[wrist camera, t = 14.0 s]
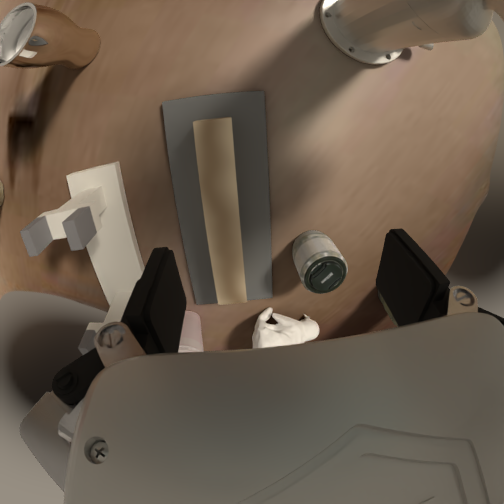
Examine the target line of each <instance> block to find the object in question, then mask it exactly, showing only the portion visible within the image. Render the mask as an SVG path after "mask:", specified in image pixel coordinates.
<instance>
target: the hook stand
mask: <svg viewBox="0 0 504 504" xmlns="http://www.w3.org/2000/svg"><path fill="white" fill-rule="evenodd" d="M66 177H67V182H68V186H69V190H70V194H71V198H72V199H71V200H69V201H68V202H67V203H65V204H64V205H63V206H61V207H60V208H59V209H56V210H52V211H48V212H44V213H42V214H41V215H40V216H38V217H37V218H36V219H35V220H33V221H32V222H31V223H30V224H29V225H27V226H26V227H25V228H24V229H23V230H21V231H20V233H21V236H22V238H23V241H24V244H25V246H26V249H27V251H28V254H29V256H37V255H39V254H40V253H41V252H42V251H43V250H44V249H45V248H46V247H47V246H48V245H49V244H50V243H51V242H52V241H53V240H55V239H61V238H67V240H68V242H69V245H70V248H71V251H74V250H82V249H84V248H85V246H86V247H87V250H88V253H89V256H90V259H91V261H92V264H93V267H94V269H95V272H96V274H97V277H98V279H99V282H100V284H101V287H102V289H103V291H104V294H105V296H106V298H107V301H108V303H109V305H110V308H109V311H108V313H107V315H106V317H105V320H104V322H103V323H91V322H90V323H89V324H88V327H87V329H86V331H85V333H84V335H83V338H82V340H81V342H80V344H79V346H78V349H79V350H80V352H81V353H82V355H84V354H86V353H87V352H89V351H90V350H92V349H93V348H95V344H94V338H95V335H96V333H97V331H98V330H99V329H100V328H101V327H103V326H104V325H106V324H108V323H110V322H120V321H121V318H122V315H123V313H124V310H125V308H126V306H127V303H128V301H129V298H130V296H131V293H132V291H133V289H134V286H135V284H136V282H137V281H138V280H139V279H140V278H141V276H142V274H143V271H144V269H145V267H144V264H143V261H142V257H141V254H140V250H139V247H138V243H137V239H136V236H135V232H134V228H133V224H132V220H131V216H130V212H129V207H128V203H127V199H126V194H125V189H124V185H123V180H122V174H121V169H120V164H119V161H118V162H114V163H109V164H105V165H101V166H97V167H93V168H89V169H85V170H81V171H78V172H74V173H71V174H69V175H67V176H66Z"/></svg>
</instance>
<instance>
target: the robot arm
mask: <svg viewBox="0 0 504 504" xmlns="http://www.w3.org/2000/svg"><path fill="white" fill-rule="evenodd" d="M494 11H495V12H496V13H497V14H498V15H499V16H500V17H501V18H502V20H503V21H504V0H323V1H322V3H321V6H320V20H321V23H322V26H323V28H324V30H325V33H326V34H327V36H328V37H329V39H330V40H331V41H332V42H333V43H334V45H335V46H336V47H337V48H338V49H340V50H341V51H342V52H343V53H344V54H346V55H348V56H349V57H351V58H353V59H355V60H357V61H359V62H363V63H366V64H374V65H377V64H385V63H389V62H391V61H393V60H395V59H396V58H397V57H399V56H400V54H401V53H402V51H403V49H404V48H408V47H413V46H419V47H421V48H424V49H426V50H432V49H433V43H440V42H448V41H459V40H469V39H473V38H476V37H478V36H480V35H482V34H483V33H484V32H485V31H486V29H487V28H488V26H489V24H490V22H491V20H492V16H493V13H494ZM325 15H326V16H327V17H328V18H327V17H326V16H325ZM349 49H350V51H349ZM449 284H450V281H449V280H448V279H447V277H446V276H445V275H444V274H443V273H442V271H441V270H440V269H439V268H438V267H437V266H436V264H435V263H434V262H433V261H432V260H431V259H430V258H429V256H428V255H427V254H426V253H425V252H424V251H423V250H422V249H421V248H420V247H419V245H418V244H417V243H416V242H415V241H414V240H413V239H412V238H411V237H410V236H409V235H408V234H407V233H406V232H405V231H404V230H403V229H391V230H390V231H389V233H387V234H386V237H385V242H384V247H383V252H382V257H381V261H380V266H379V270H378V274H377V278H376V286H377V289H378V290H379V292H380V294H381V295H382V297H383V299H384V301H385V302H386V304H387V306H388V308H389V310H390V311H391V313H392V315H393V317H394V319H395V321H396V322H397V324H398V326H399V327H395V328H390V329H386V330H381V331H376V332H370V333H365V334H359V335H354V336H348V337H342V338H336V339H329V340H322V341H315V342H308V343H300V344H292V345H283V346H274V347H263V348H252V349H238V350H222V351H203V352H180V353H178V350H179V344H180V338H181V332H182V327H183V321H184V316H185V310H186V297H185V293H184V290H183V287H182V283H181V279H180V276H179V272H178V268H177V265H176V261H175V257H174V253H173V251H172V250H169V249H168V248H167V247H162V248H154V249H153V251H152V253H151V256H150V258H149V260H148V262H147V264H146V267H145V269H144V271H143V274H142V276H141V278H140V279H139V280H138V281H137V282H136V284H135V286H134V289H133V291H132V293H131V296H130V298H129V301H128V303H127V306H126V308H125V310H124V313H123V315H122V318H121V321H120V322H110V323H108V324H106V325H104V326H103V327H101V328H100V329H99V330H98V331H97V333H96V335H95V338H94V344H95V348H93V349H92V350H90V351H89V352H87V353H86V354H84V355H83V356H81V357H80V358H78V359H77V360H75V361H74V362H72V363H71V364H69V365H67V366H66V367H64V368H63V369H62V370H60V371H59V372H58V373H57V374H56V375H55V377H54V379H53V382H52V389H53V391H52V392H51V393H49V392H46V394H45V395H44V396H43V397H42V398H41V399H40V400H39V401H38V402H37V404H36V405H35V406H34V407H33V408H32V409H31V411H30V412H29V413H28V414H27V415H26V416H25V418H24V419H23V420H22V422H21V424H20V435H21V437H22V439H23V440H24V442H25V443H26V445H27V446H28V448H29V449H30V451H31V452H32V453H33V455H34V456H35V458H36V459H37V460H38V461H39V463H40V464H41V465H42V467H43V468H44V469H45V470H46V472H47V473H48V474H49V475H50V477H51V478H52V479H53V480H54V481H55V482H56V484H57V485H58V486H59V487H60V488H61V489H62V490H63V491H64V504H504V318H502V317H500V316H497V315H495V314H493V313H491V312H488V311H486V310H484V309H482V308H479V307H478V301H477V298H476V296H475V294H474V293H473V292H472V291H471V290H469V289H468V288H465V287H462V286H454V287H452V288H451V290H450V289H449V288H448V286H449Z"/></svg>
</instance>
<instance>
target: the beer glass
mask: <svg viewBox="0 0 504 504" xmlns="http://www.w3.org/2000/svg"><path fill="white" fill-rule="evenodd" d="M99 48H100V36H99V34H98V33H97V32H96V31H95V30H93V29H87V28H80V27H79V26H77V25H76V24H75V23H74V22H73V21H72V20H71V19H70V18H69V17H67V16H66V15H65V14H63V13H62V12H60V11H58V10H56V9H53V8H50V7H47V6H42V5H37V4H32V3H23V4H20V5H19V6H17V7H15V8H14V9H13V10H12V11H10V12H9V13H8V14H7V15H6V17H5V18H4V19H3V20H2V22H1V23H0V66H4V67H11V68H22V69H31V68H40V67H46V66H51V65H58V64H61V65H64V66H66V67H68V68H70V69H80V68H82V67H84V66H86V65H87V64H89V63H90V62H91V61H92V60H93V59H94V57H95V56H96V54H97V53H98V51H99Z"/></svg>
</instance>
